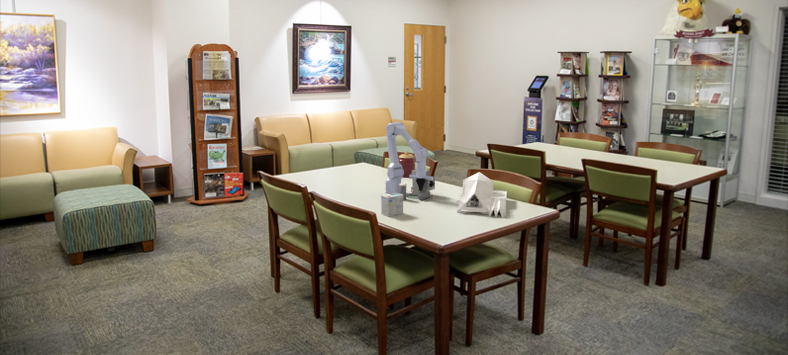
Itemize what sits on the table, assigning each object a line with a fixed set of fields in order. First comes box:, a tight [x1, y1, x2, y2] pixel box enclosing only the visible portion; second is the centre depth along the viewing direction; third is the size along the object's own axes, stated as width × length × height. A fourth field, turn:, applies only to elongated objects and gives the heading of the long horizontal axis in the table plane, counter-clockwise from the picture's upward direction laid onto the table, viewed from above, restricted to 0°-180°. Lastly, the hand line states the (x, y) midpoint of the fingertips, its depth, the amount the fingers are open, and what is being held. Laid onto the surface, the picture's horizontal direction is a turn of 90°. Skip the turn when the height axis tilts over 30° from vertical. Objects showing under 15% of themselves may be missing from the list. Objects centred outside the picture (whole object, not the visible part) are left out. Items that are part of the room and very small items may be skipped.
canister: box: [398, 151, 416, 178], centre depth 409 cm, size 13×13×18 cm
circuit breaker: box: [410, 169, 436, 196], centre depth 351 cm, size 8×14×15 cm, turn 50°
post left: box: [399, 182, 407, 201], centre depth 340 cm, size 4×4×9 cm
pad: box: [406, 194, 419, 200], centre depth 347 cm, size 9×5×1 cm, turn 67°
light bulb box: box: [380, 193, 404, 218], centre depth 308 cm, size 11×7×11 cm, turn 128°
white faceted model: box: [456, 171, 508, 218], centre depth 323 cm, size 41×27×17 cm, turn 168°
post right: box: [417, 190, 432, 201], centre depth 342 cm, size 4×4×9 cm
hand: (420, 190), depth 344 cm, fingers closed
